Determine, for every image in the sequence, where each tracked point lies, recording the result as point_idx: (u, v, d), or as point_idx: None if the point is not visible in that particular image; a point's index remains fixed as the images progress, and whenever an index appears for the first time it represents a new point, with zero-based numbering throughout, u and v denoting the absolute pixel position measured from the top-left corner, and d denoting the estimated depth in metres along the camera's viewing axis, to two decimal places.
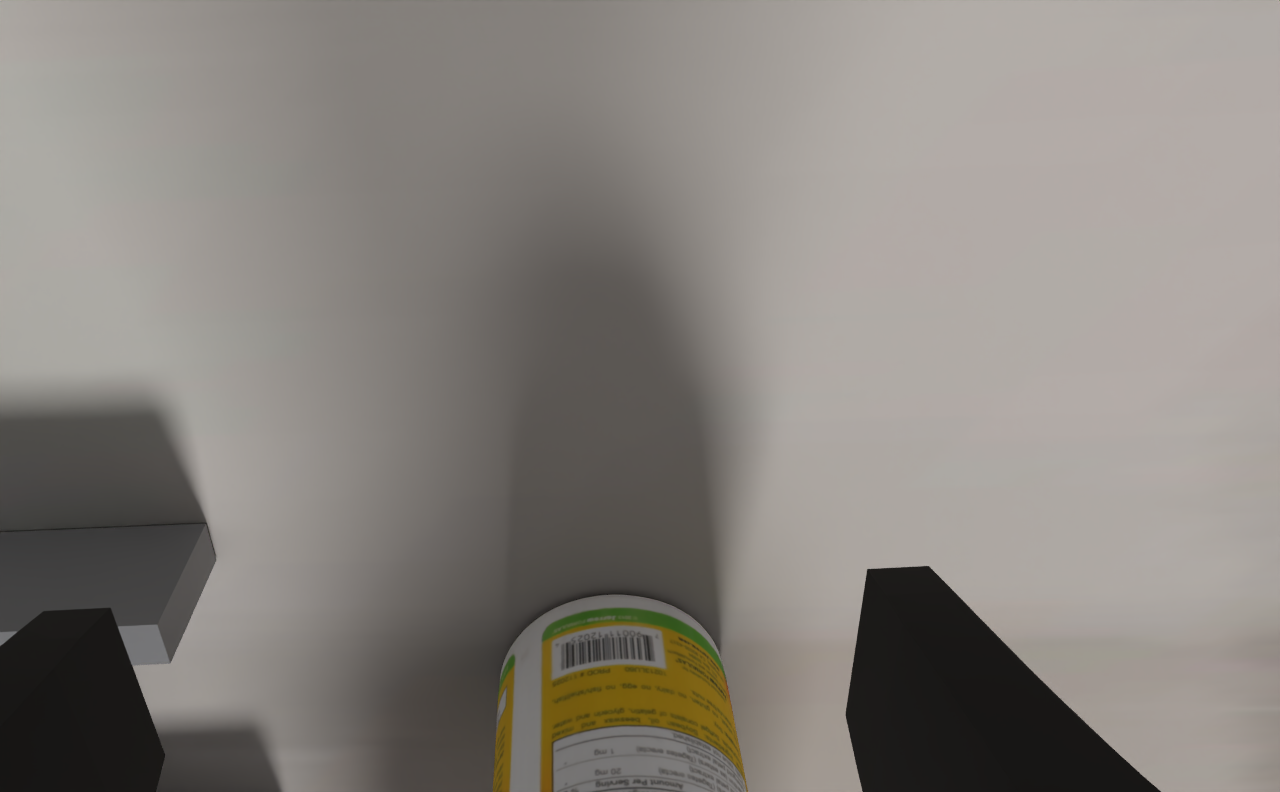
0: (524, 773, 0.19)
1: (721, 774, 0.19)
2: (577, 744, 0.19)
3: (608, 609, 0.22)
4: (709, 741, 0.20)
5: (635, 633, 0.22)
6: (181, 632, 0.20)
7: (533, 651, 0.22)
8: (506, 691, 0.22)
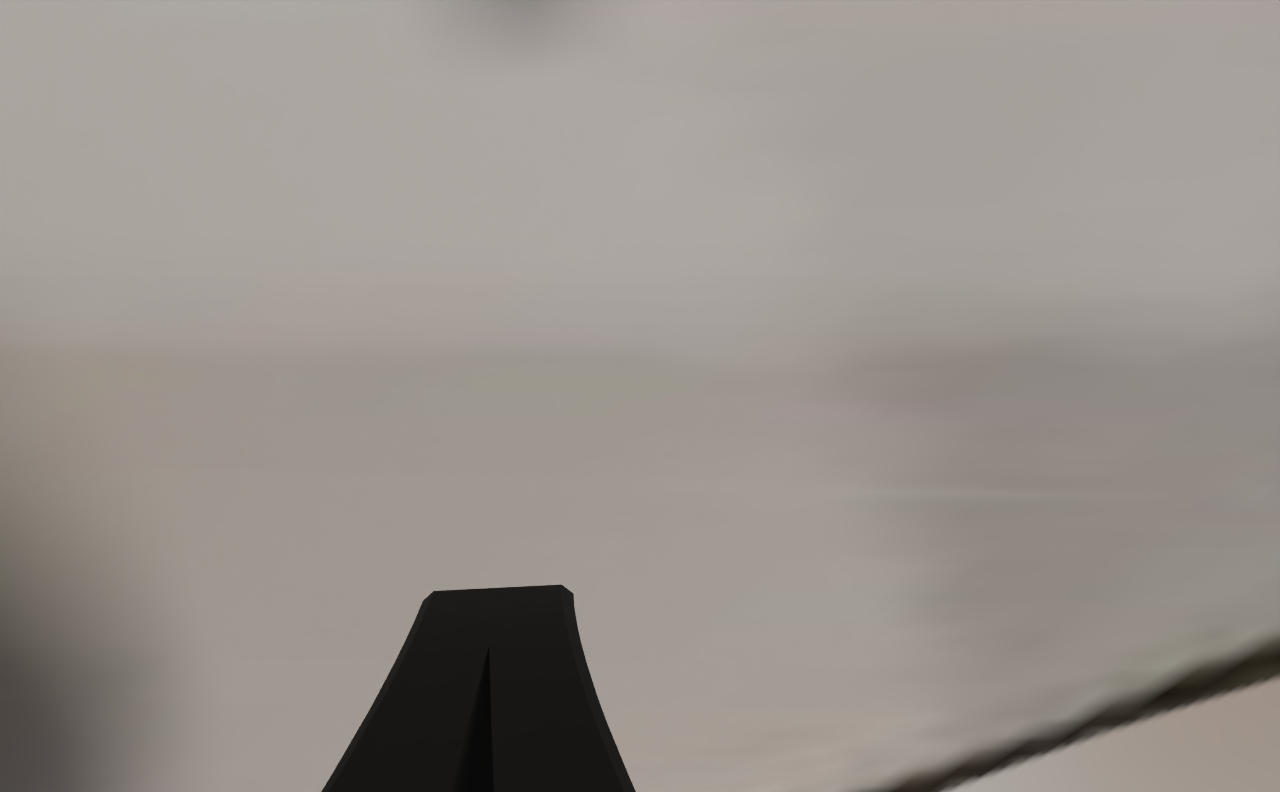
0: None
1: None
2: None
3: None
4: None
5: None
6: None
7: None
8: None
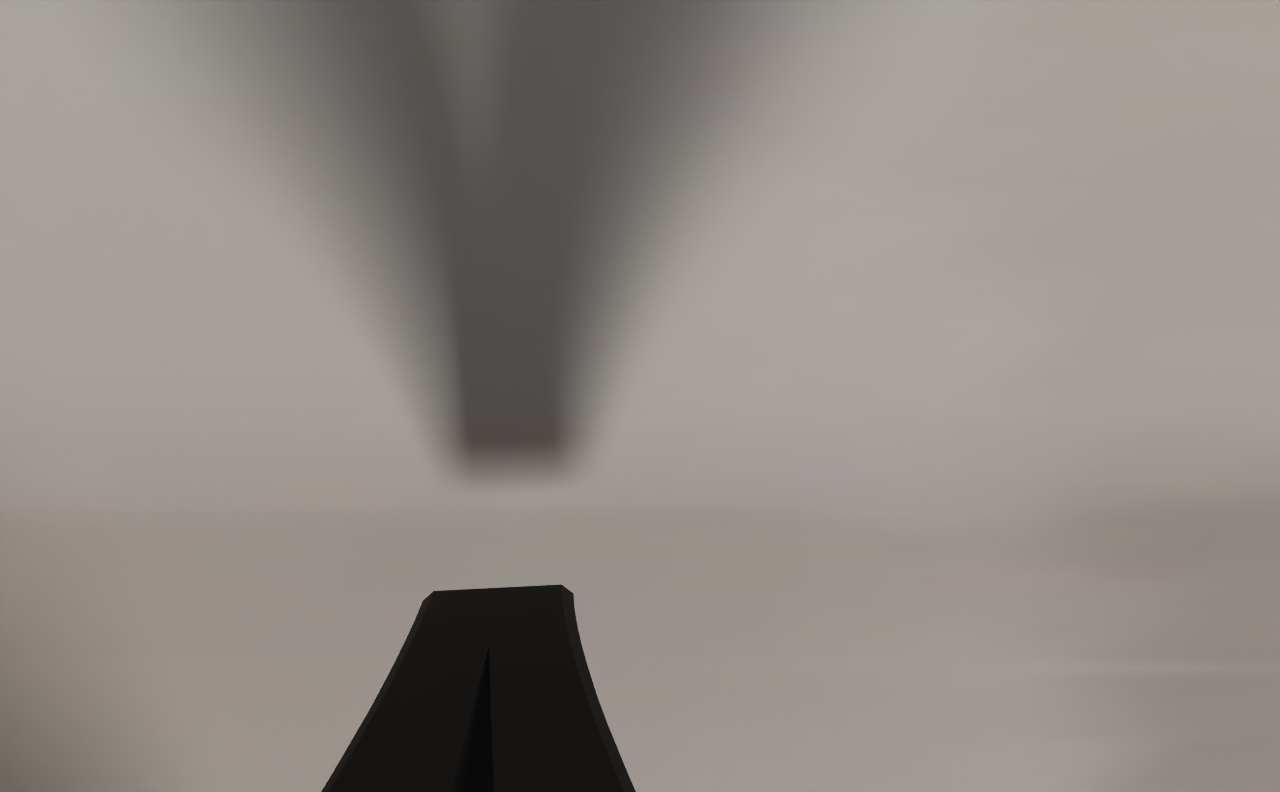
0: None
1: None
2: None
3: None
4: None
5: None
6: None
7: None
8: None
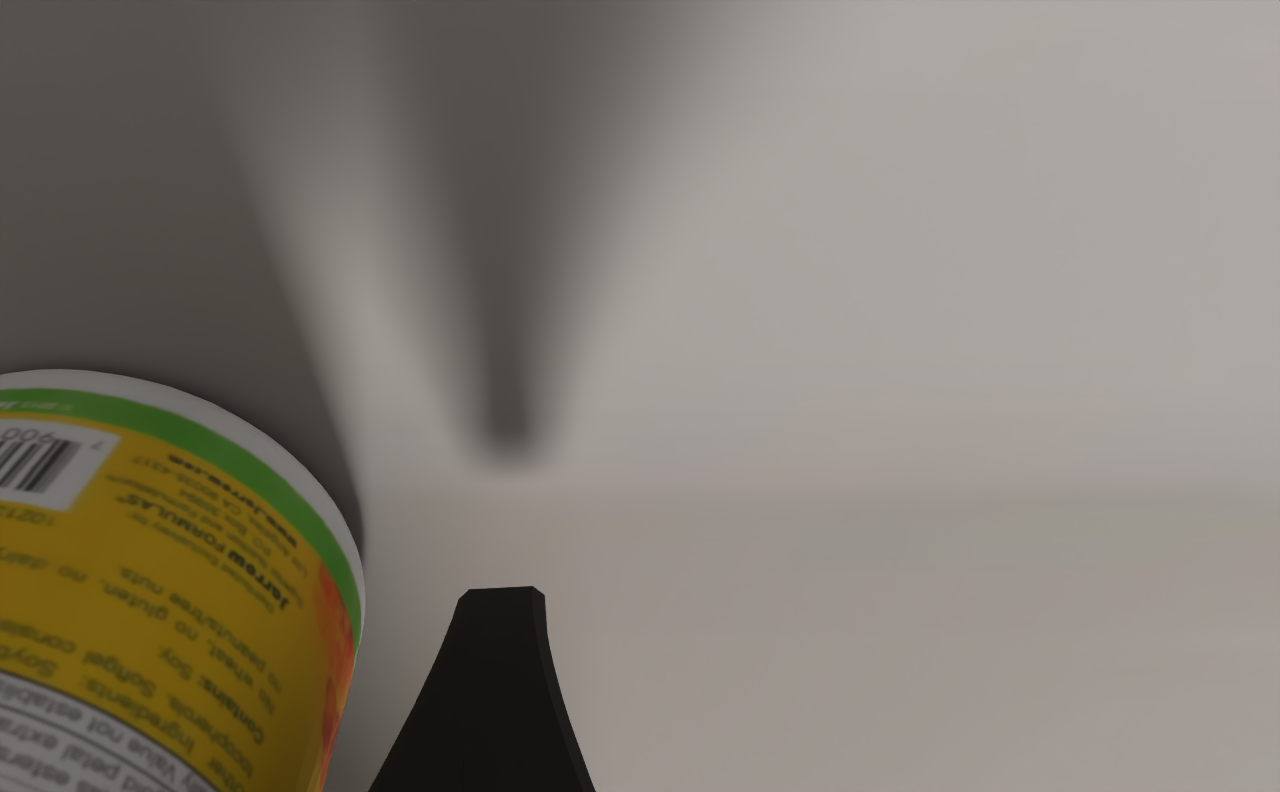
0: None
1: (77, 791, 0.06)
2: None
3: (14, 391, 0.09)
4: (89, 697, 0.07)
5: (38, 435, 0.09)
6: None
7: None
8: None
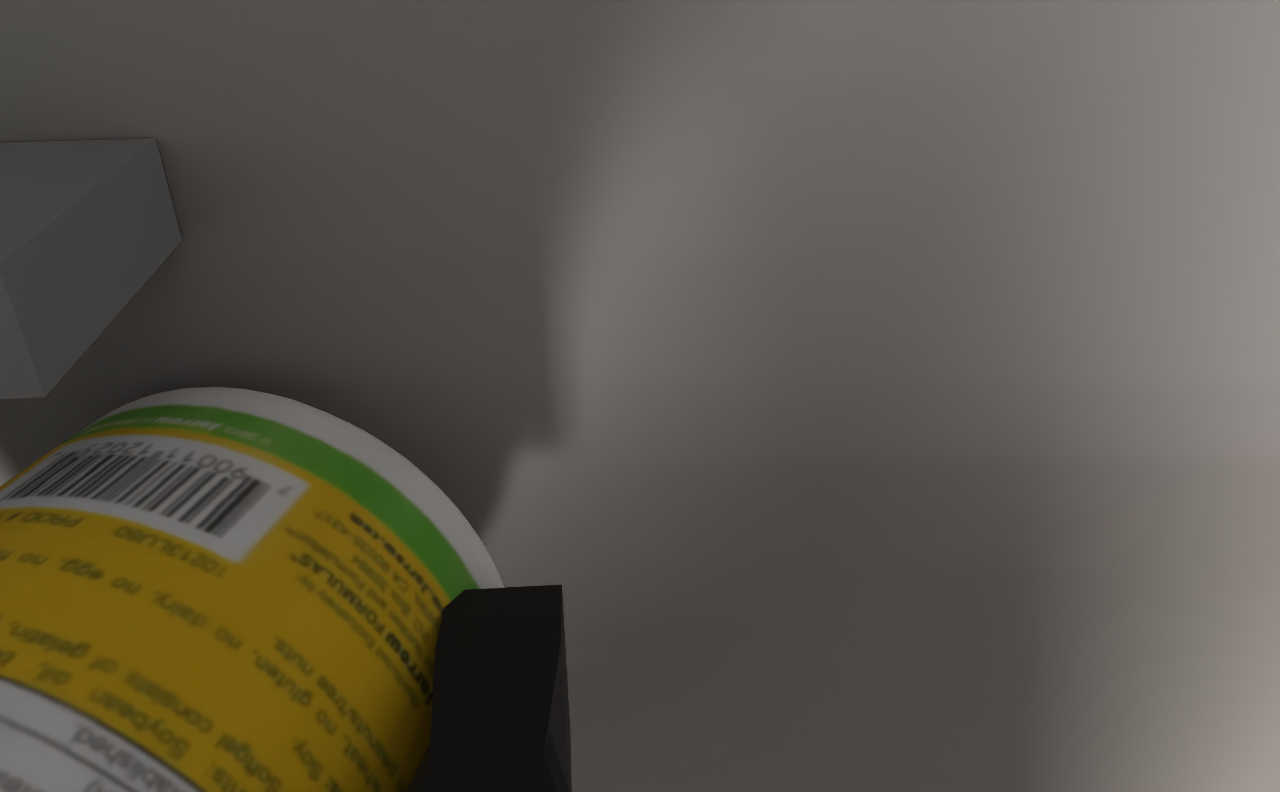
0: None
1: None
2: None
3: (220, 412, 0.09)
4: (214, 787, 0.06)
5: (232, 468, 0.08)
6: (83, 339, 0.08)
7: None
8: None
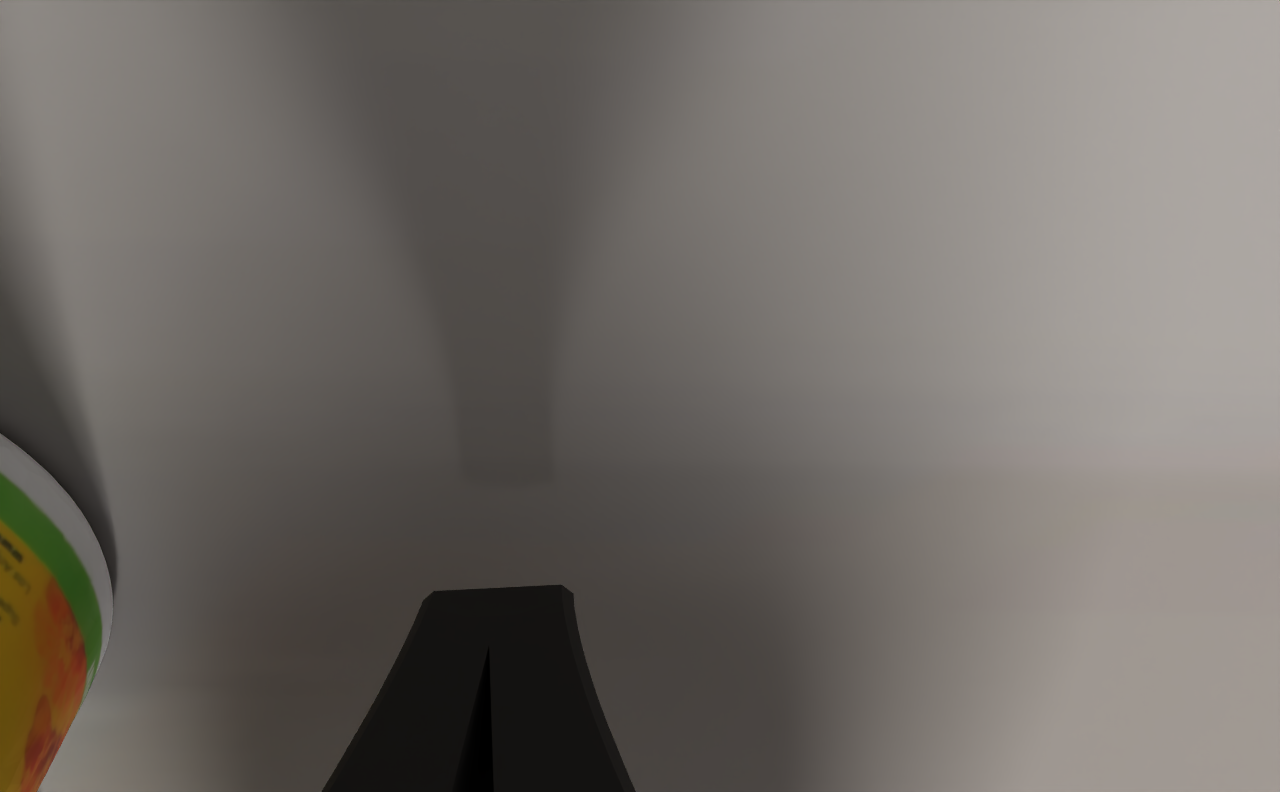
0: None
1: None
2: None
3: None
4: None
5: None
6: None
7: None
8: None
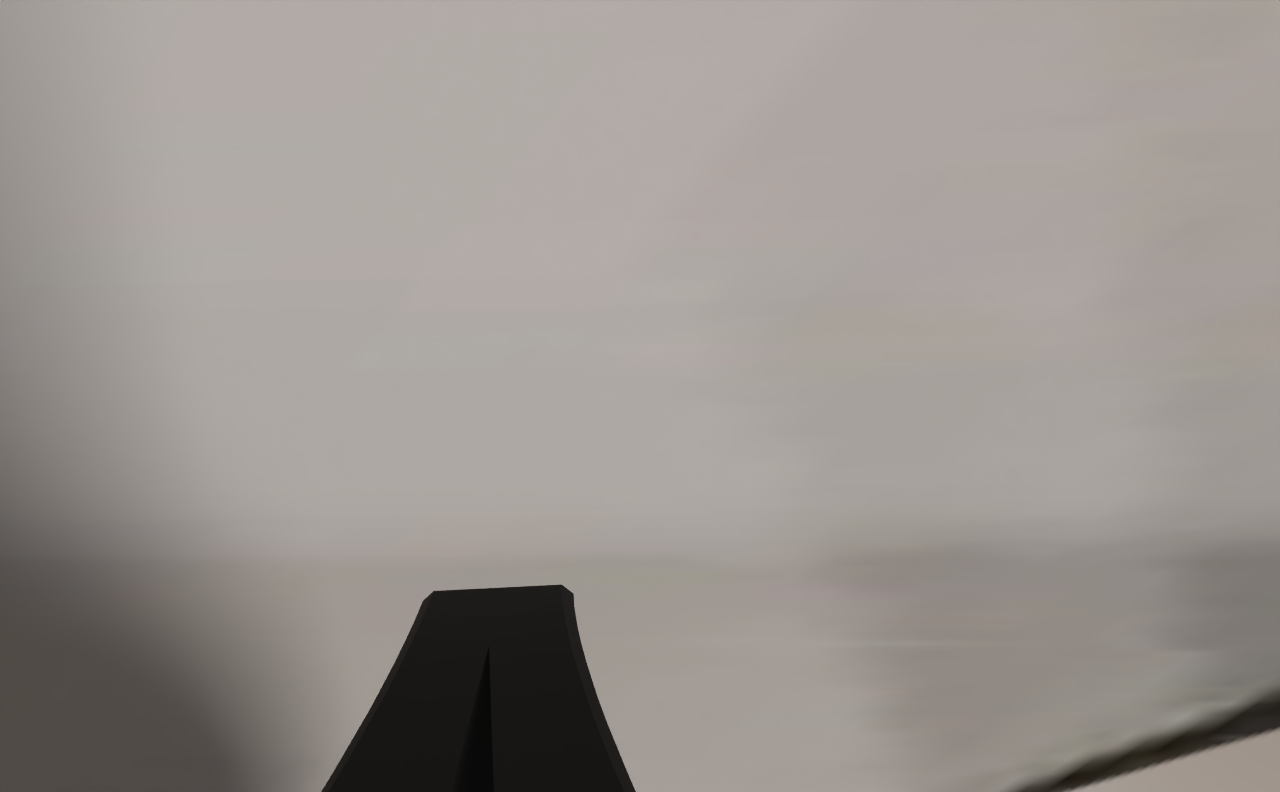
0: None
1: None
2: None
3: None
4: None
5: None
6: None
7: None
8: None
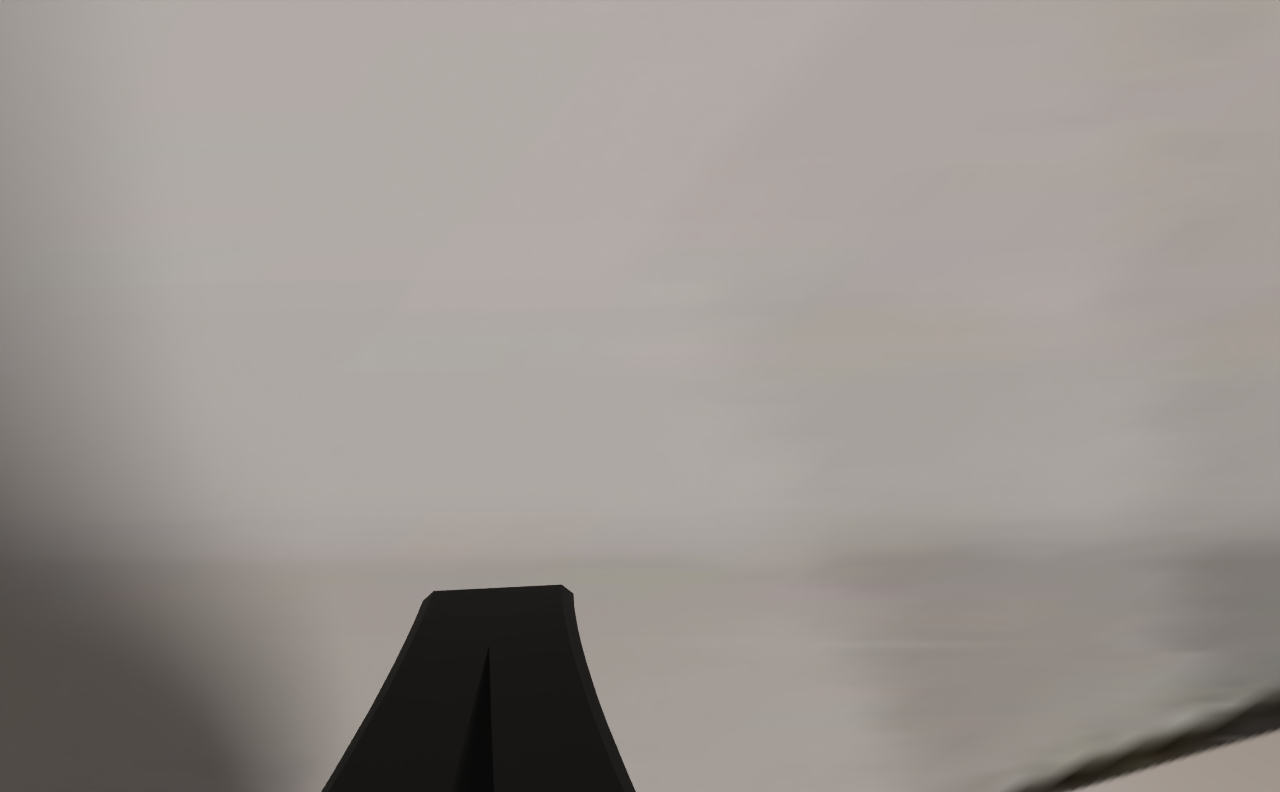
0: None
1: None
2: None
3: None
4: None
5: None
6: None
7: None
8: None
